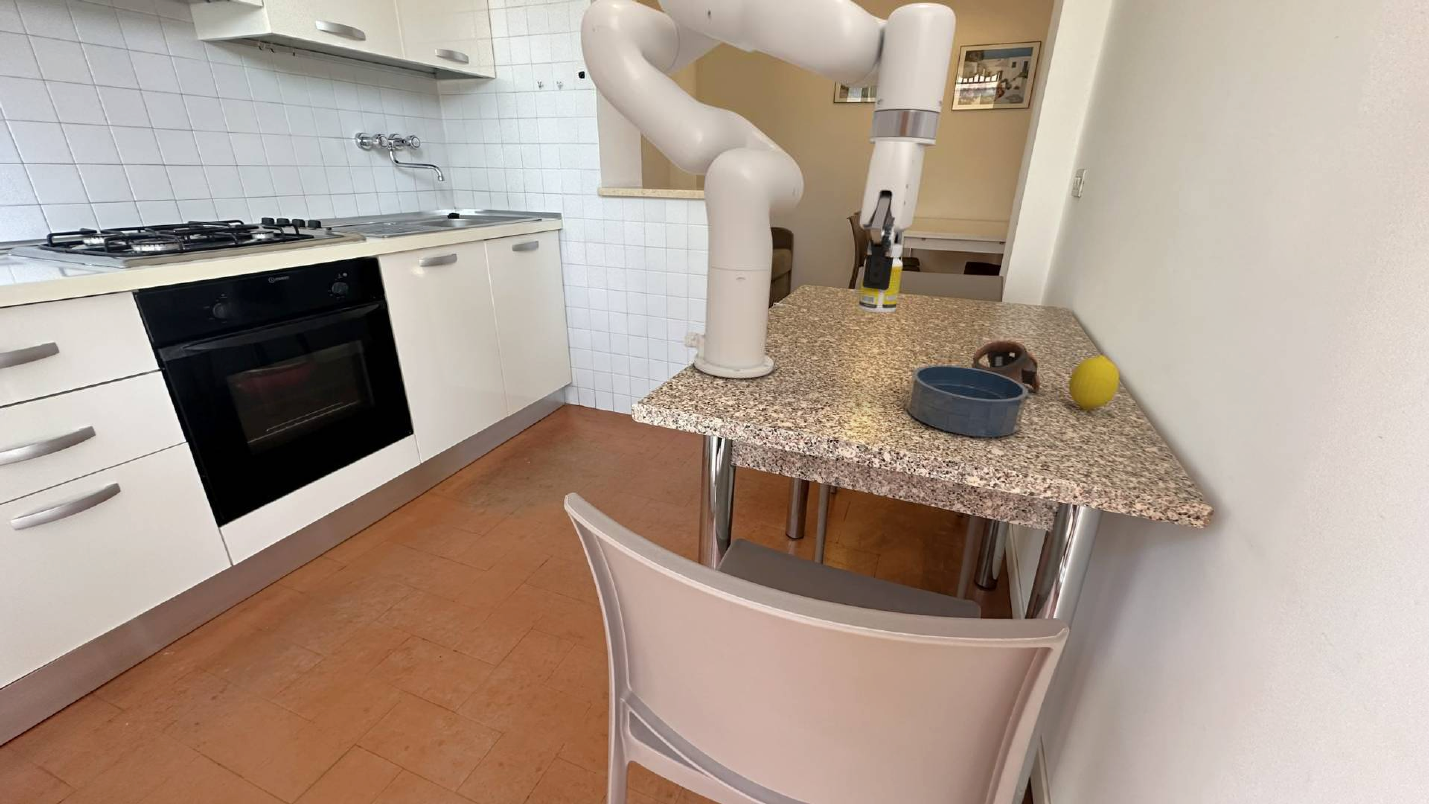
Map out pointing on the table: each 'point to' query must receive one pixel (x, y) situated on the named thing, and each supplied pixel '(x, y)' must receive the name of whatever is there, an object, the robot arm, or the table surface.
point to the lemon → (1094, 382)
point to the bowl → (966, 400)
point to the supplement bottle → (883, 298)
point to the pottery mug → (1009, 362)
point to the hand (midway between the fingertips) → (880, 283)
